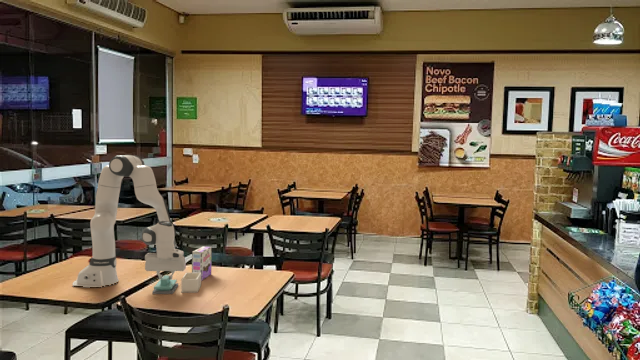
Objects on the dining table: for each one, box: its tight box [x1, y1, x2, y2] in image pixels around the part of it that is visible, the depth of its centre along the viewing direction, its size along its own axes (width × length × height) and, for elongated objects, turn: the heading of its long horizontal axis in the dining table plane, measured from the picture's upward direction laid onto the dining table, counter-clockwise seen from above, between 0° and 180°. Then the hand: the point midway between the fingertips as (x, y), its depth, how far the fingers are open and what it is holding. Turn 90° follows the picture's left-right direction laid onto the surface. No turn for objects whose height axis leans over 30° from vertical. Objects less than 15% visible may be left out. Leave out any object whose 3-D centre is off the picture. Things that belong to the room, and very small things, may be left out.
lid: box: [153, 274, 178, 291], centre depth 249 cm, size 9×13×5 cm
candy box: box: [191, 246, 212, 282], centre depth 272 cm, size 14×6×16 cm, turn 168°
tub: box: [180, 272, 202, 294], centre depth 251 cm, size 8×12×7 cm, turn 5°
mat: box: [151, 282, 179, 295], centre depth 249 cm, size 10×14×1 cm
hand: (165, 279), depth 249 cm, fingers open, 4 cm apart
